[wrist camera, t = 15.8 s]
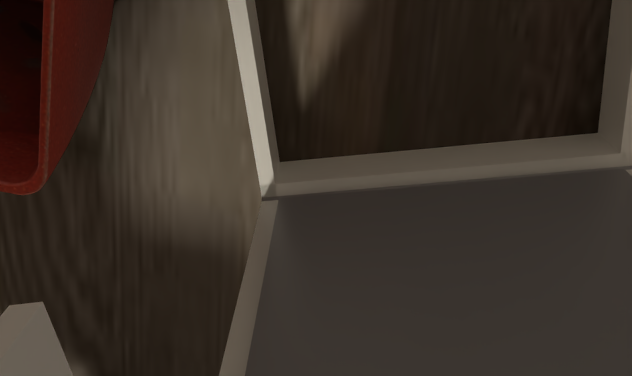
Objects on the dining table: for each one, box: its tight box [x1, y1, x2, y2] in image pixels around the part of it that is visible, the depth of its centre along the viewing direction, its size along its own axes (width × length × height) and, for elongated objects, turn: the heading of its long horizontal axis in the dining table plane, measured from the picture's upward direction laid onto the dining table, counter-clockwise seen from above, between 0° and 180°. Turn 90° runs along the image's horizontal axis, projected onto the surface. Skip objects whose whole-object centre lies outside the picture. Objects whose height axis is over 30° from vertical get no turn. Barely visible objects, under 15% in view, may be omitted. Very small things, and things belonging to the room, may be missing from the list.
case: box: [219, 0, 632, 376], centre depth 26 cm, size 25×20×22 cm
